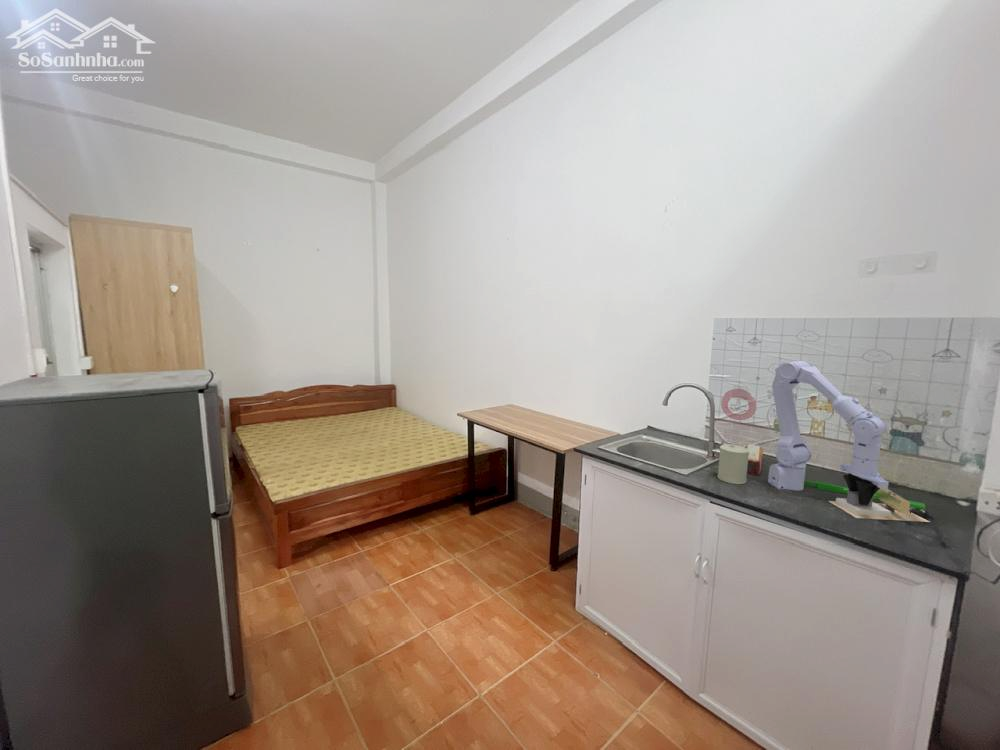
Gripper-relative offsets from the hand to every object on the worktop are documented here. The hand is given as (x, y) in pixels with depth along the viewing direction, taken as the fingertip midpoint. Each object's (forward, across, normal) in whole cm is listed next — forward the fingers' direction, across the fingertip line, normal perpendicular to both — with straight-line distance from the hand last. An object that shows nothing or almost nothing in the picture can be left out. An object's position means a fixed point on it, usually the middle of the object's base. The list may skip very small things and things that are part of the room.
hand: (859, 502), depth 116 cm
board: (+4, 0, -4) cm, 6 cm away
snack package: (+4, +39, +10) cm, 40 cm away
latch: (0, 0, -8) cm, 8 cm away
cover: (+2, 0, -1) cm, 2 cm away
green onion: (+4, +10, -8) cm, 14 cm away
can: (+4, +24, +24) cm, 35 cm away
